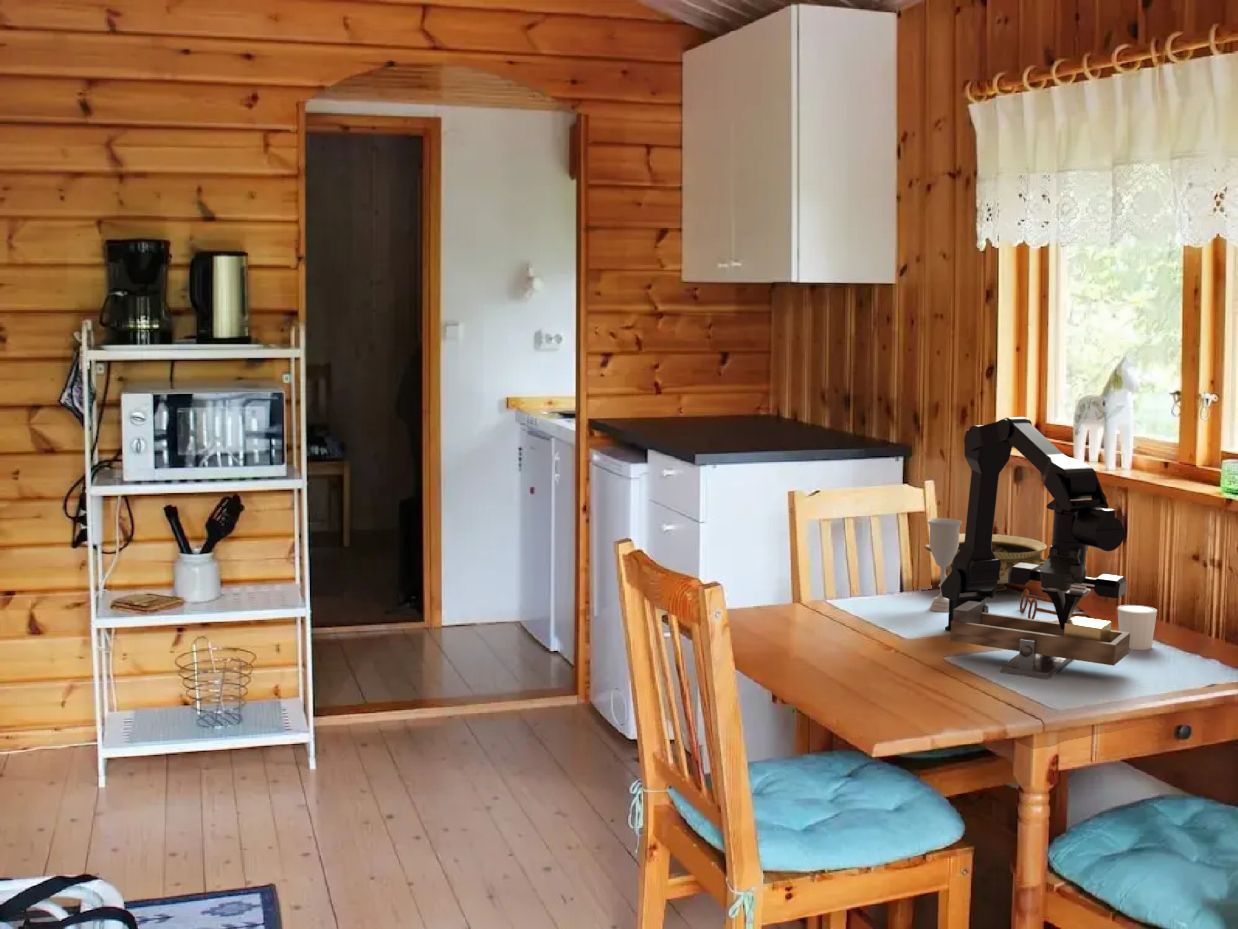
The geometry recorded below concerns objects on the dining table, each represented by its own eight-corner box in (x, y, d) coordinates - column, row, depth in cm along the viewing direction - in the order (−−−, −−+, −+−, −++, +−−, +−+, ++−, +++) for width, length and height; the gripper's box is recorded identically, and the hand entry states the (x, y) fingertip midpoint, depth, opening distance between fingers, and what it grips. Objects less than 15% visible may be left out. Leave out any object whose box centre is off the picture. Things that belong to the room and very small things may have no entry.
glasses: (1018, 611, 296) (1019, 586, 295) (1084, 612, 295) (1085, 588, 294) (1031, 626, 283) (1032, 601, 282) (1100, 628, 282) (1101, 602, 281)
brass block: (1063, 646, 248) (1064, 623, 247) (1074, 639, 253) (1076, 616, 252) (1099, 651, 244) (1100, 628, 244) (1110, 644, 249) (1111, 621, 249)
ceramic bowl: (1077, 588, 315) (1079, 542, 314) (1028, 607, 297) (1030, 559, 296) (950, 570, 335) (952, 526, 333) (897, 586, 317) (899, 541, 315)
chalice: (962, 613, 292) (965, 524, 290) (928, 613, 292) (931, 524, 290) (955, 605, 299) (957, 518, 297) (921, 604, 299) (924, 517, 297)
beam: (950, 641, 256) (951, 610, 256) (969, 629, 265) (970, 599, 264) (1113, 665, 241) (1115, 633, 241) (1128, 652, 250) (1130, 621, 249)
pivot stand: (1000, 672, 249) (1001, 638, 248) (1028, 652, 262) (1030, 620, 261) (1047, 679, 245) (1048, 645, 244) (1073, 658, 258) (1075, 626, 257)
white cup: (1150, 652, 262) (1152, 614, 261) (1111, 647, 266) (1113, 609, 265) (1159, 644, 268) (1161, 607, 267) (1120, 639, 271) (1122, 602, 271)
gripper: (1000, 539, 246) (994, 630, 249) (1113, 554, 236) (1106, 648, 239) (1021, 530, 256) (1015, 617, 258) (1130, 543, 246) (1123, 634, 248)
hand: (1063, 629), depth 250 cm, fingers closed
